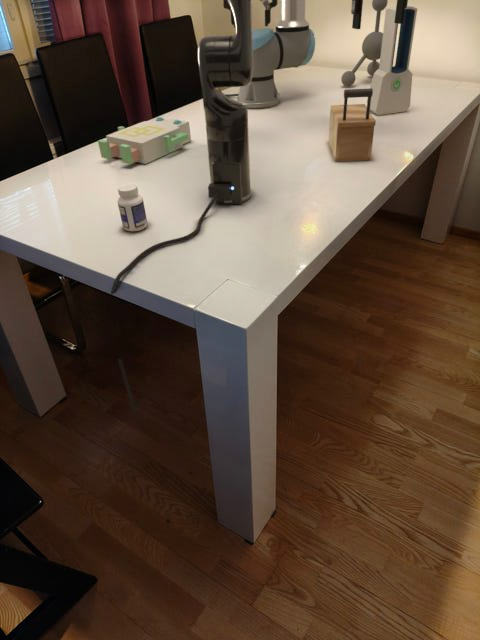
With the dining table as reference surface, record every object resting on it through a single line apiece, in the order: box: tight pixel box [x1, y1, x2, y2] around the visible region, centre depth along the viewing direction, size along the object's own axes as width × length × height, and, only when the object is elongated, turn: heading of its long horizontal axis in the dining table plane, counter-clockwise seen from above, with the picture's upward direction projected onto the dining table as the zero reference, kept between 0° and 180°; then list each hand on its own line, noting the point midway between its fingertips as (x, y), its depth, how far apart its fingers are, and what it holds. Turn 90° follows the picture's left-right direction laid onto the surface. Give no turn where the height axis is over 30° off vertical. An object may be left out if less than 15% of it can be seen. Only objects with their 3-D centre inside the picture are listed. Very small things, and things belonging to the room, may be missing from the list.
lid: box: [330, 88, 376, 127], centre depth 128 cm, size 16×9×8 cm, turn 178°
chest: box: [328, 111, 375, 162], centre depth 133 cm, size 16×9×9 cm, turn 178°
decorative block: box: [97, 116, 192, 165], centre depth 142 cm, size 26×6×20 cm
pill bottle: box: [117, 182, 148, 232], centre depth 102 cm, size 5×5×9 cm
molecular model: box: [340, 0, 388, 87], centre depth 186 cm, size 24×22×30 cm
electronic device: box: [366, 4, 418, 116], centre depth 155 cm, size 12×8×30 cm, turn 105°
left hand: (251, 26), depth 133 cm, fingers open, 8 cm apart
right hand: (377, 26), depth 131 cm, fingers open, 13 cm apart
